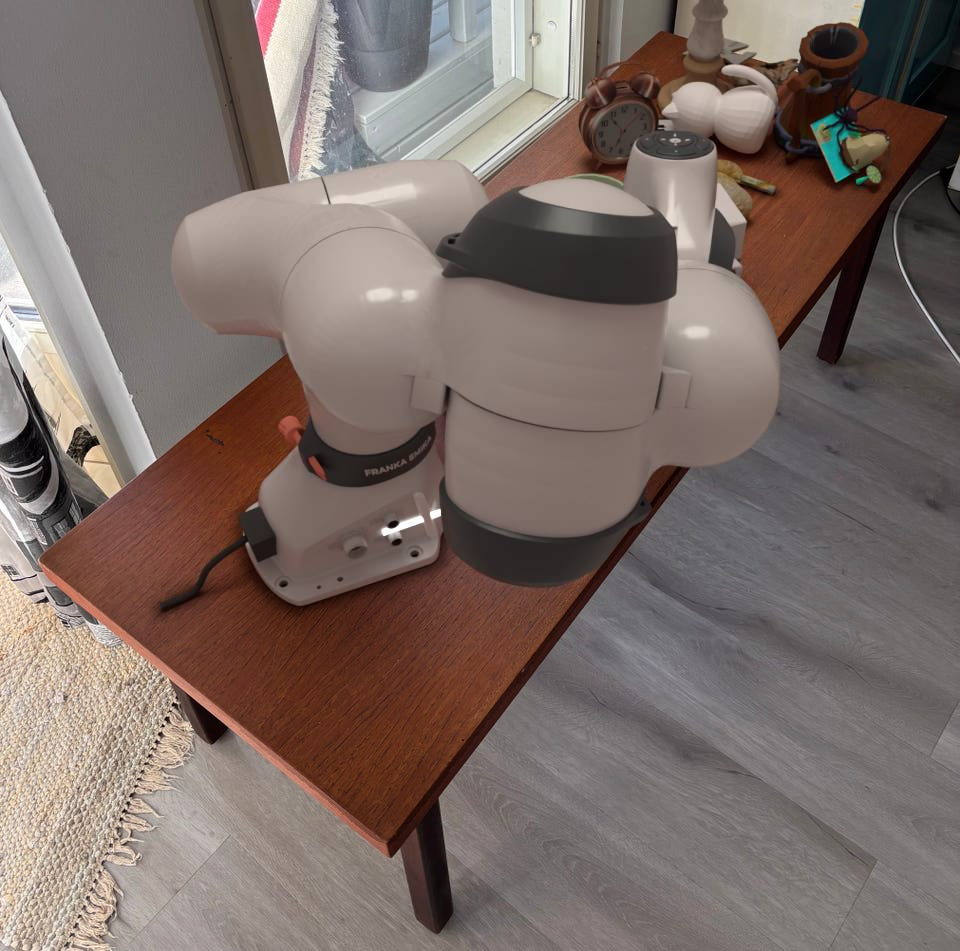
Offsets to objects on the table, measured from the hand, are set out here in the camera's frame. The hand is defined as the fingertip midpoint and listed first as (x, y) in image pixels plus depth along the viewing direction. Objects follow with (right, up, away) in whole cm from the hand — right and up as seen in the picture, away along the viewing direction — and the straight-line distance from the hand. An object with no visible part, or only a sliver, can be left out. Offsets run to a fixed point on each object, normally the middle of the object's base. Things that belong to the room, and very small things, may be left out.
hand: (647, 377), depth 110 cm
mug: (+28, +36, +32) cm, 56 cm away
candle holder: (+15, +46, +40) cm, 62 cm away
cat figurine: (+23, +39, +28) cm, 53 cm away
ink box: (+10, +13, +14) cm, 22 cm away
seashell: (+13, +25, +23) cm, 36 cm away
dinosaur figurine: (+23, +45, +34) cm, 61 cm away
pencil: (+6, +36, +29) cm, 47 cm away
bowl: (-4, +22, +22) cm, 31 cm away
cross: (+16, +59, +50) cm, 79 cm away
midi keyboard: (+10, +35, +31) cm, 48 cm away
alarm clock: (+1, +34, +32) cm, 47 cm away
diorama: (+32, +36, +26) cm, 54 cm away
